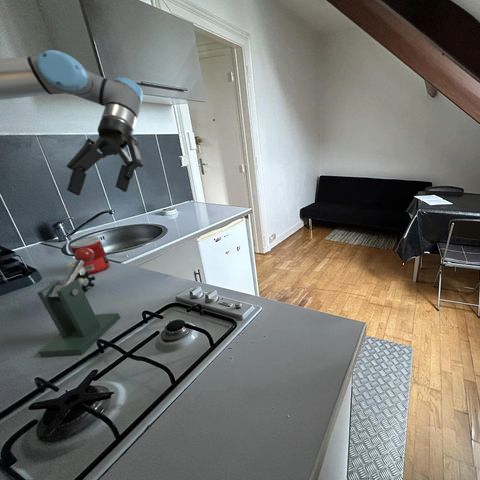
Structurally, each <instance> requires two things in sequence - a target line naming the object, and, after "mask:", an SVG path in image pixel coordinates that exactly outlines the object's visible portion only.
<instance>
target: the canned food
mask: <svg viewBox="0 0 480 480" xmlns="http://www.w3.org/2000/svg"><path fill="white" fill-rule="evenodd" d="M69 248H70V250H71V252H72V254H73V256H74V255H75V252H76V251H77V250H78V249H81V248H89V249H91V250H92V251H93V252H94V258H93V259H92V260H91V261H90V262H86V263H84V264H83V266H82V267H83V268H84V269H85V270H86V272H89V275H93V274H98V273H101V272H103V271H106V270H107V269H108V268H110V266H111V265H110V264H111V263H110V261H109V258H108V256H107V254H106V251H105V249H104V246H103V244H102V241H101V239H100V238H99V237H95V236H94V237H86V238H82V239H77V240H76V241H73V242H72V243H70V244H69Z"/></svg>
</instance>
